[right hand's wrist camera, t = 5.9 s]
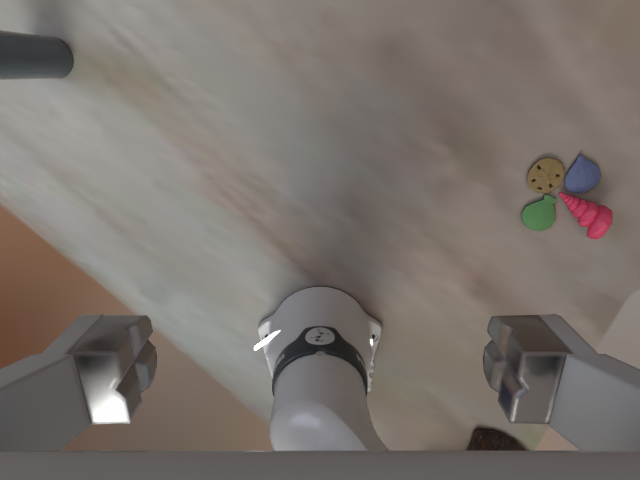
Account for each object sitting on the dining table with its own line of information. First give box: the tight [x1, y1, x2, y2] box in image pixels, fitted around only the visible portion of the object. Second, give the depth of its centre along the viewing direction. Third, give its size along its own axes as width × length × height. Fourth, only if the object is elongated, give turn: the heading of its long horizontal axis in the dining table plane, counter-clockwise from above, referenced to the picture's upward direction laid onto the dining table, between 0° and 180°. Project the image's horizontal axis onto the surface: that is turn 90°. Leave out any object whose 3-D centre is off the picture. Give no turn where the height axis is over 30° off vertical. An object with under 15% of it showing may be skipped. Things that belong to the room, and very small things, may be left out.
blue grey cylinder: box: [0, 30, 73, 80], centre depth 45 cm, size 5×5×16 cm
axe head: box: [468, 429, 525, 451], centre depth 75 cm, size 18×8×15 cm
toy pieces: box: [521, 155, 613, 239], centre depth 56 cm, size 12×11×4 cm
